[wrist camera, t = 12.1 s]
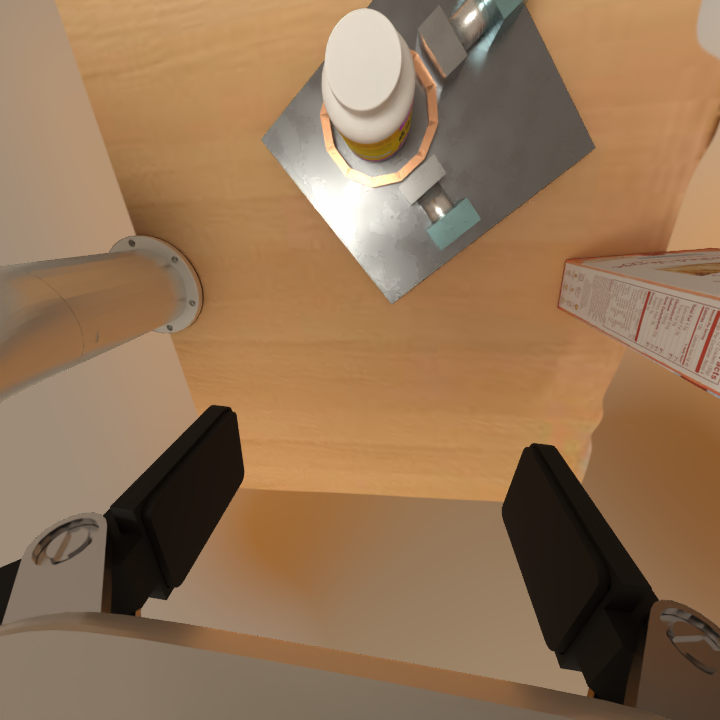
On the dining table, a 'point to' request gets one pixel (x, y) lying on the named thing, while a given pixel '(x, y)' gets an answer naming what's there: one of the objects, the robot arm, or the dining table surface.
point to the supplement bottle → (369, 84)
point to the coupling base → (439, 140)
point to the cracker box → (654, 307)
